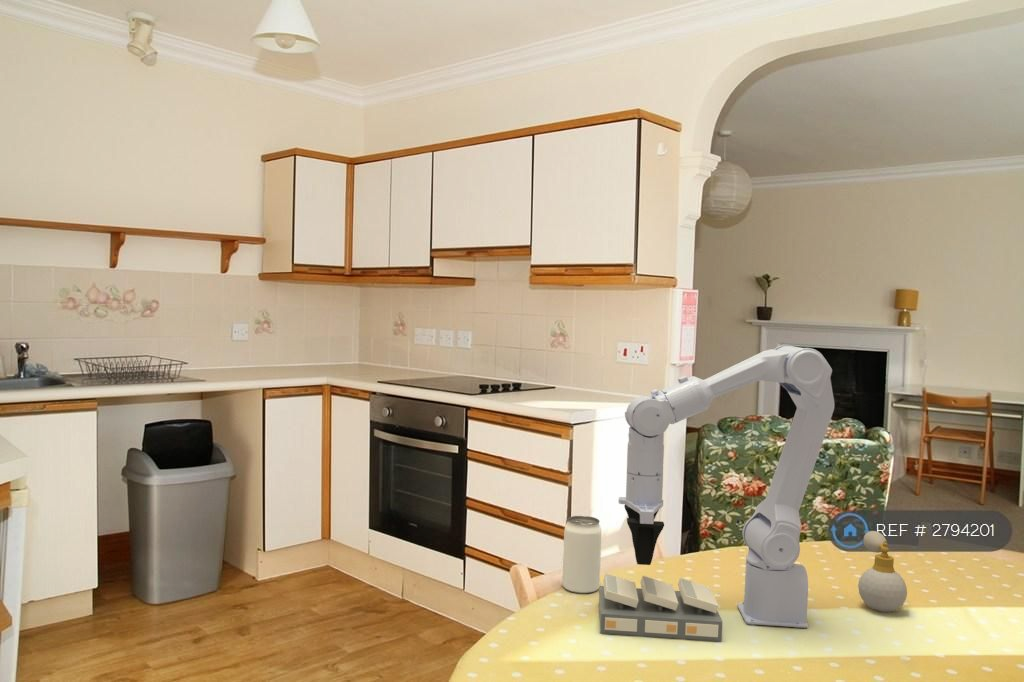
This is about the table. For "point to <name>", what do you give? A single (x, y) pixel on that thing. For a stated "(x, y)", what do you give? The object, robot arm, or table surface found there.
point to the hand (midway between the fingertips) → (642, 556)
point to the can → (582, 554)
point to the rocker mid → (659, 593)
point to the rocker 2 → (697, 595)
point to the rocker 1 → (620, 590)
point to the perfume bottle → (881, 578)
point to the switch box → (658, 619)
